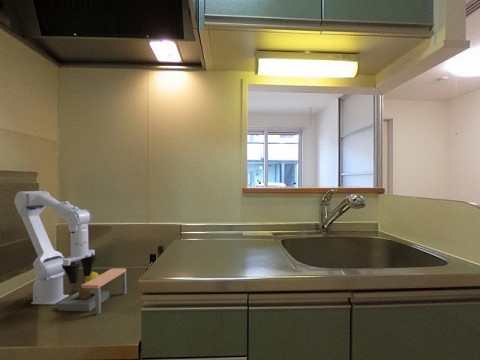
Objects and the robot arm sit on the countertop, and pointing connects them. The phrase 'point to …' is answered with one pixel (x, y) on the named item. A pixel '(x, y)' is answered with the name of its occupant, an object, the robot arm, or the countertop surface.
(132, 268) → the countertop surface
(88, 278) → the lemon
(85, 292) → the peg
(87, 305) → the socket
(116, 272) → the orange bridge
